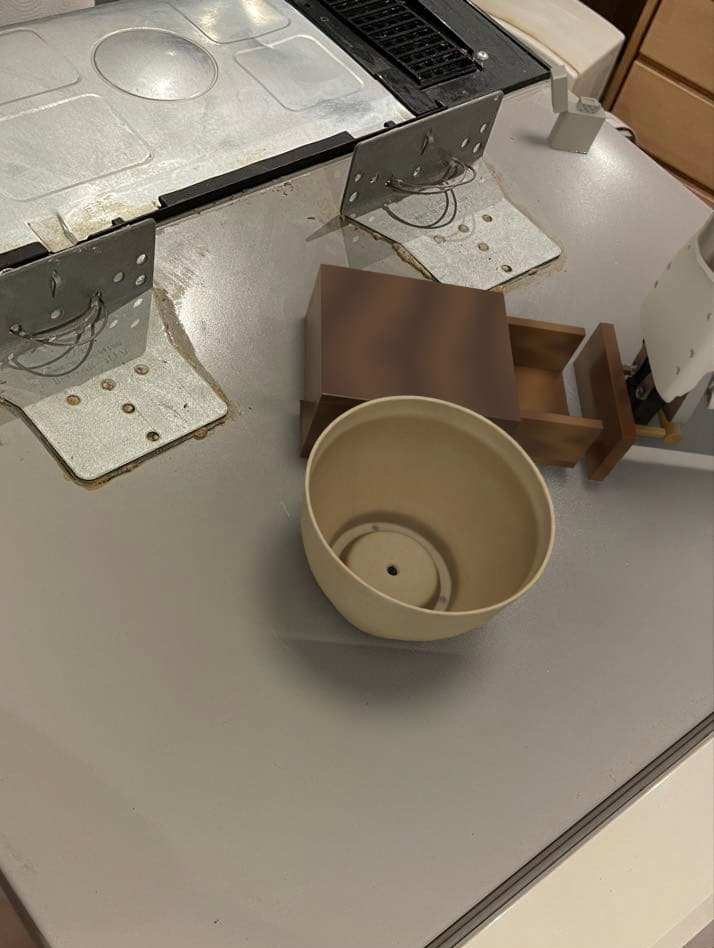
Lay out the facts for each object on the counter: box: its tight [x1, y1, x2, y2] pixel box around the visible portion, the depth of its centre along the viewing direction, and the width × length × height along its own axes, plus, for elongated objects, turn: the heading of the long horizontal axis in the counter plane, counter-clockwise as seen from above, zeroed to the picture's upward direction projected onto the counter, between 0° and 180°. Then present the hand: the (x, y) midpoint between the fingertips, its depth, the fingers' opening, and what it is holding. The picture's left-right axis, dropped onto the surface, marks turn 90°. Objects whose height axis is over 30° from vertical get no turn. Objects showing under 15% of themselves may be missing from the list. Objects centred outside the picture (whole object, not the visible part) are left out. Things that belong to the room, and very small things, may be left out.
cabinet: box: [299, 263, 521, 459], centre depth 76 cm, size 15×13×8 cm
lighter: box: [547, 64, 607, 154], centre depth 98 cm, size 7×2×8 cm, turn 92°
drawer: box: [507, 315, 683, 483], centre depth 78 cm, size 19×11×6 cm, turn 90°
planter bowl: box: [300, 396, 556, 642], centre depth 66 cm, size 16×16×11 cm
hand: (624, 417), depth 80 cm, fingers closed
